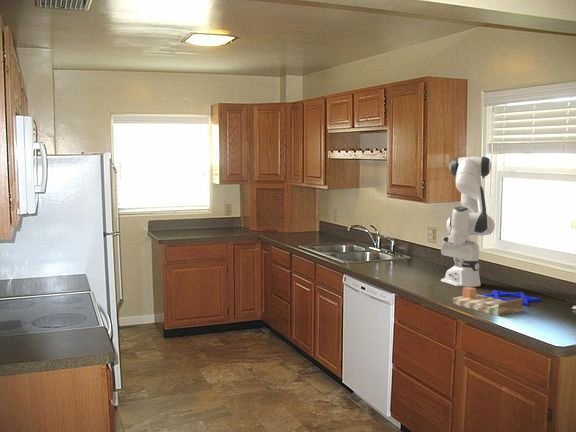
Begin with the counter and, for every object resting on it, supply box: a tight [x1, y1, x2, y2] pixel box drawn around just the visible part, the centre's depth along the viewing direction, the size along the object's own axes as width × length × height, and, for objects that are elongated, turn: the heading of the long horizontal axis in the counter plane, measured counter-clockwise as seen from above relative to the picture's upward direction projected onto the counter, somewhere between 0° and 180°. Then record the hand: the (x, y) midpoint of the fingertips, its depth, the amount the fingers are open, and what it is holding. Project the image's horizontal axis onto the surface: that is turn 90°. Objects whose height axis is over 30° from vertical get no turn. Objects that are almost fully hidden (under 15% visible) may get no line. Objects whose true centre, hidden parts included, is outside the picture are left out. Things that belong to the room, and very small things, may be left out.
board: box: [452, 293, 523, 317], centre depth 299 cm, size 27×17×6 cm, turn 36°
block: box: [462, 286, 477, 298], centre depth 308 cm, size 4×4×4 cm
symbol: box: [479, 289, 542, 307], centre depth 317 cm, size 26×2×30 cm
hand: (458, 266), depth 312 cm, fingers closed
